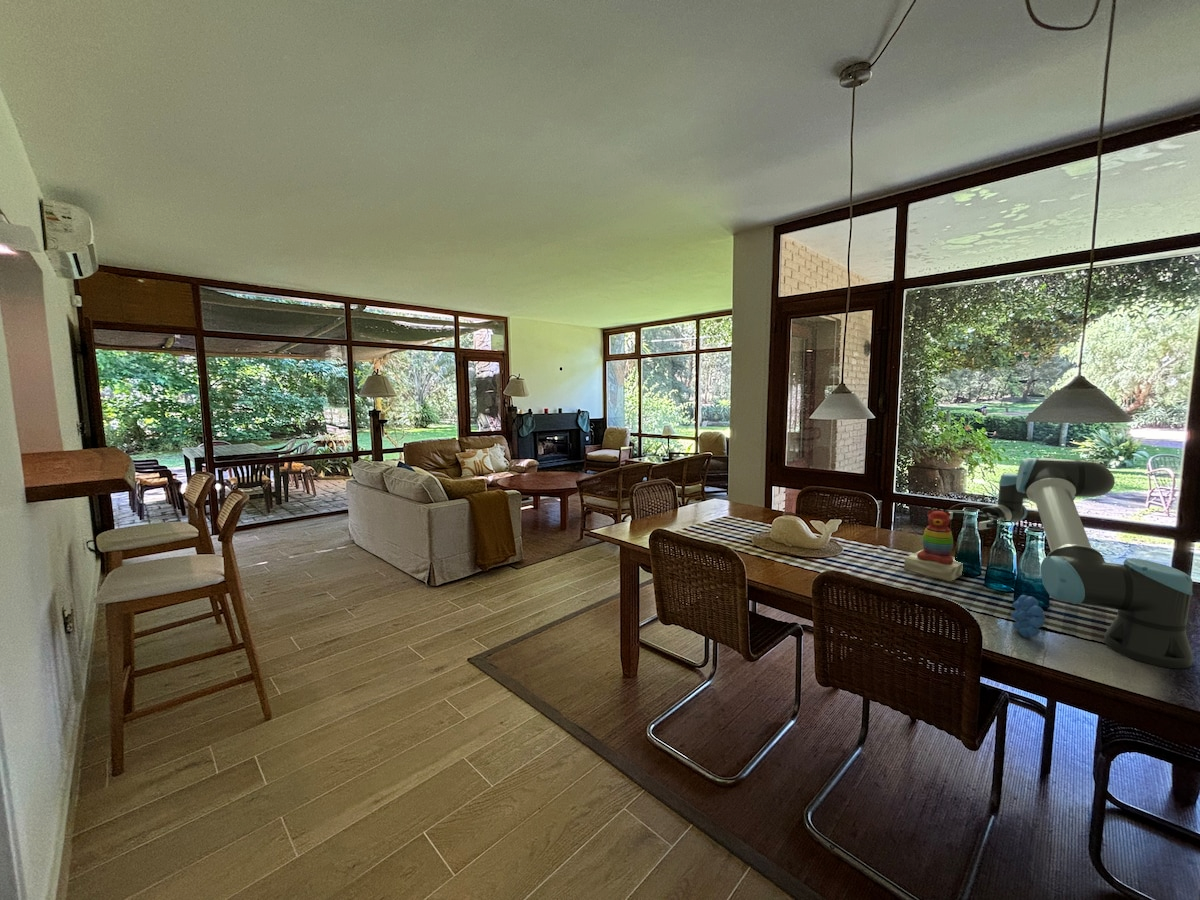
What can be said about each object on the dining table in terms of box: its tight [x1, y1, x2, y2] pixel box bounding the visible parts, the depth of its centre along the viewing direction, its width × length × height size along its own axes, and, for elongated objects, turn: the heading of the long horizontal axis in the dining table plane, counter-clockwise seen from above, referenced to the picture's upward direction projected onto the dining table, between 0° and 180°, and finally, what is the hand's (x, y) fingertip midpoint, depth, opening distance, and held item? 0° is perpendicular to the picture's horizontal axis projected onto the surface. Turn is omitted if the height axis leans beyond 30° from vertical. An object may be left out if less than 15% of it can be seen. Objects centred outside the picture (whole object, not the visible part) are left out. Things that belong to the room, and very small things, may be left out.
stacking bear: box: [917, 509, 954, 564], centre depth 180 cm, size 11×10×18 cm
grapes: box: [1010, 594, 1047, 638], centre depth 133 cm, size 12×7×12 cm, turn 165°
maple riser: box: [903, 549, 963, 582], centre depth 181 cm, size 15×15×5 cm
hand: (959, 521), depth 182 cm, fingers open, 13 cm apart
